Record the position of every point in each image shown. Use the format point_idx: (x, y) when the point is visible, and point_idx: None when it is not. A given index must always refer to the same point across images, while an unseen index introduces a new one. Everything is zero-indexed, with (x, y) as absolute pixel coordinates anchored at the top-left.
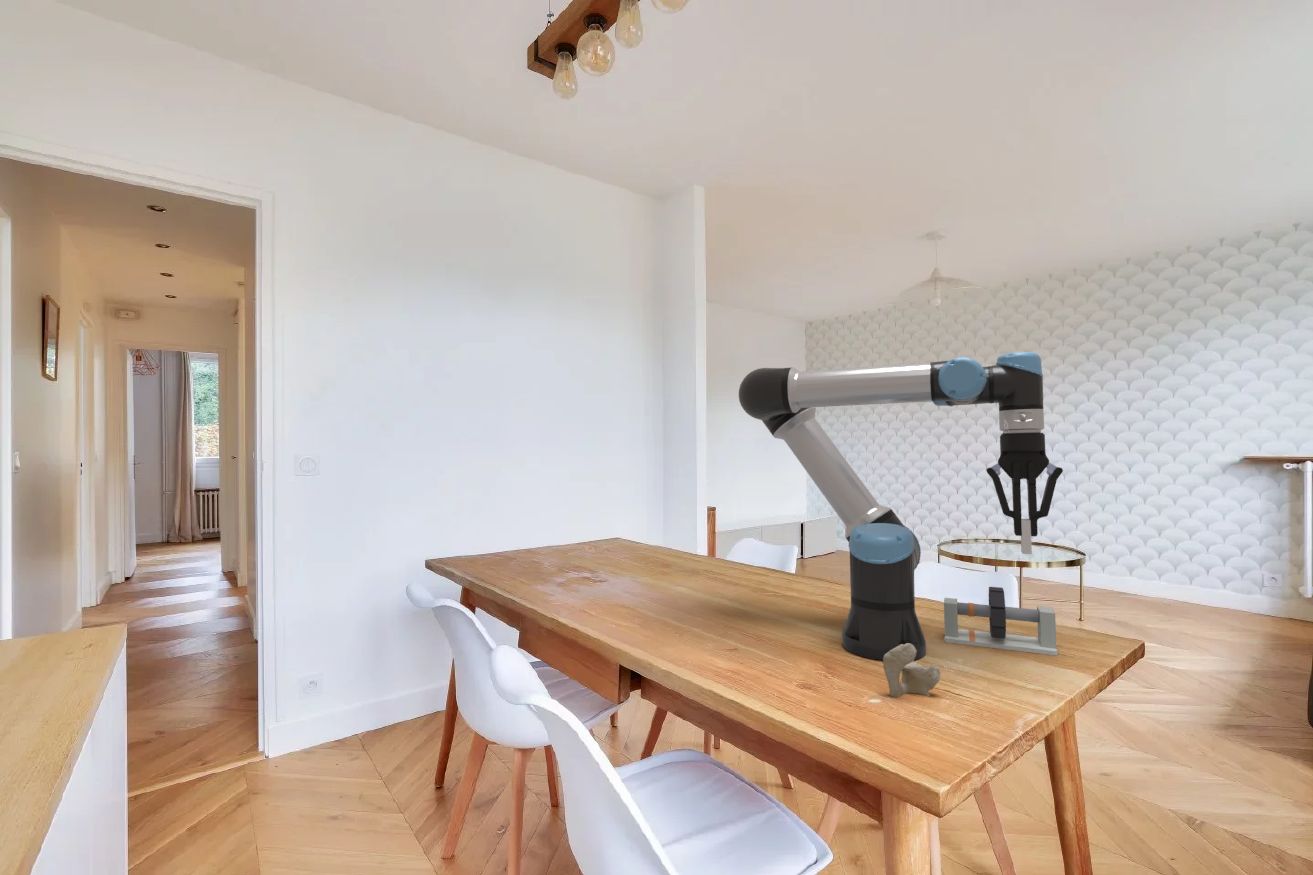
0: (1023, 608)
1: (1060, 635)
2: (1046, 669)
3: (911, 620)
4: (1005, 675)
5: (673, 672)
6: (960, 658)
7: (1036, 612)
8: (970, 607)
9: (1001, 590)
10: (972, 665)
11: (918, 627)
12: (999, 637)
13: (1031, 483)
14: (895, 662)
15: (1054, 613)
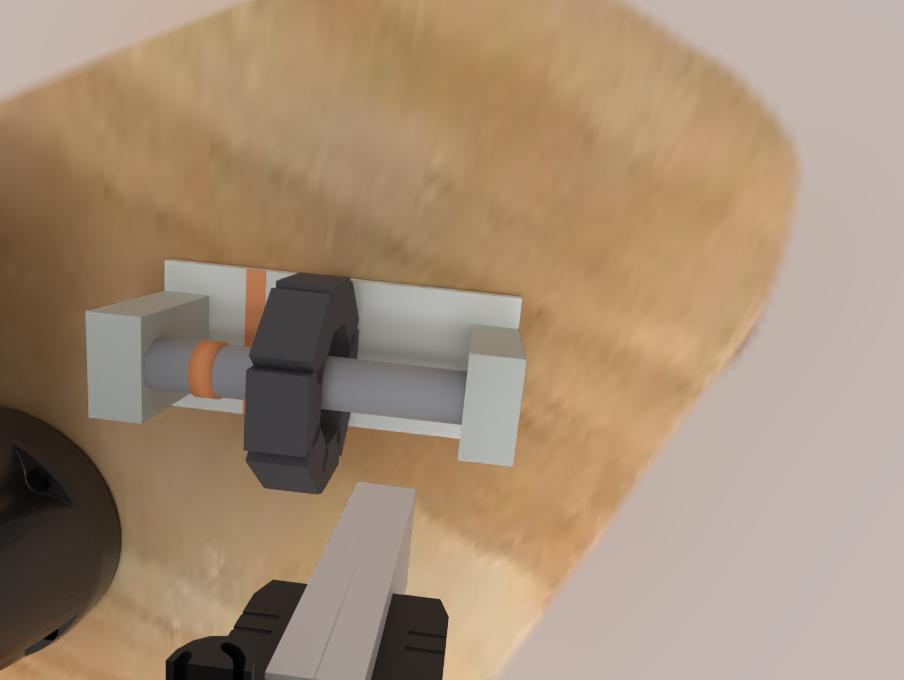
0: (406, 397)
1: (584, 172)
2: (438, 574)
3: (3, 655)
4: None
5: None
6: (217, 548)
7: (451, 422)
8: (201, 395)
9: (295, 446)
10: (246, 597)
11: (44, 612)
12: None
13: None
14: None
15: (509, 466)
